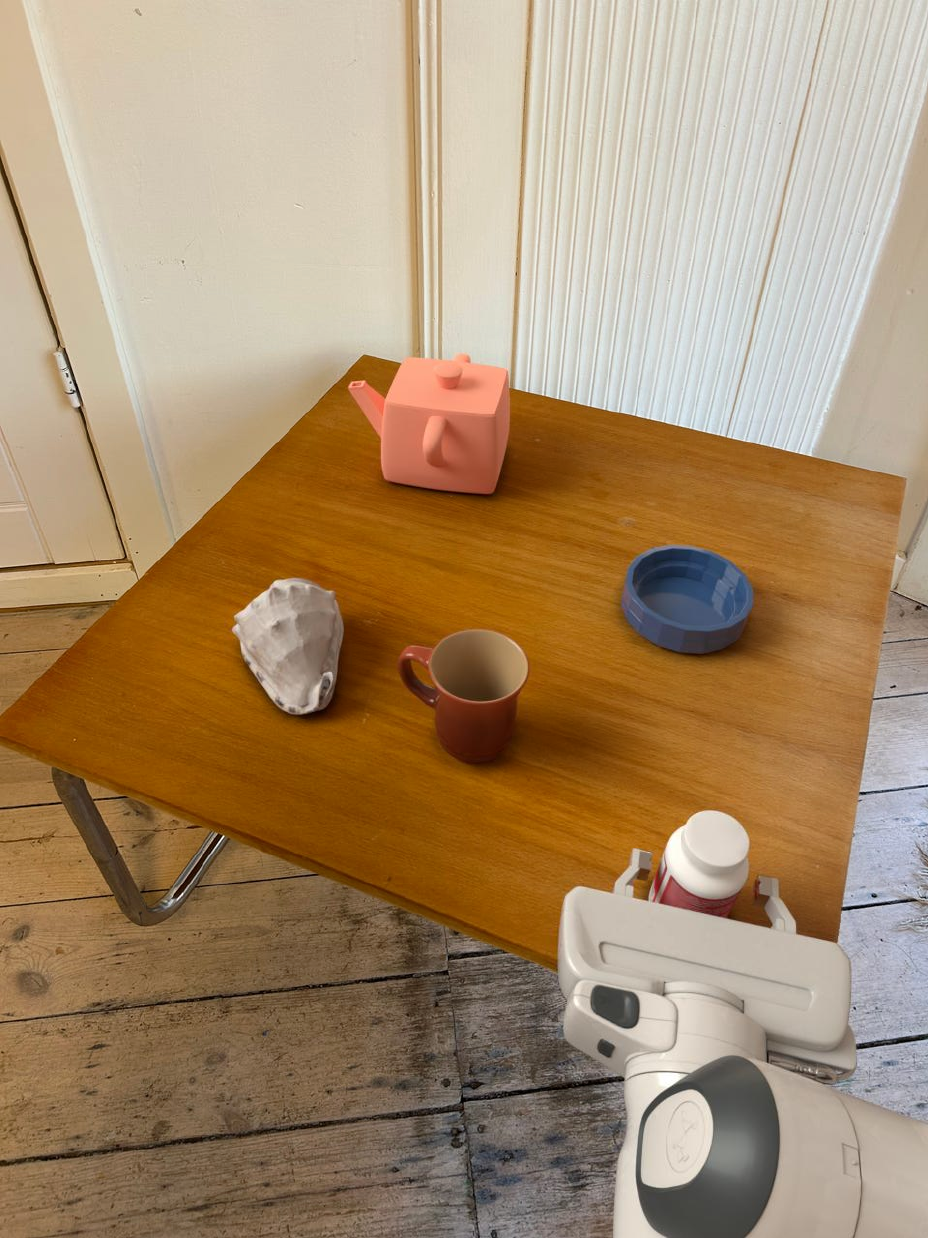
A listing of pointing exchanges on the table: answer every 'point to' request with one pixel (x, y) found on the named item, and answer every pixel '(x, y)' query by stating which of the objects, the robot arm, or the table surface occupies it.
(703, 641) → the bowl
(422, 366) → the teapot
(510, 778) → the table surface
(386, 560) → the table surface
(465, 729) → the mug
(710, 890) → the pill bottle
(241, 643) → the seashell
